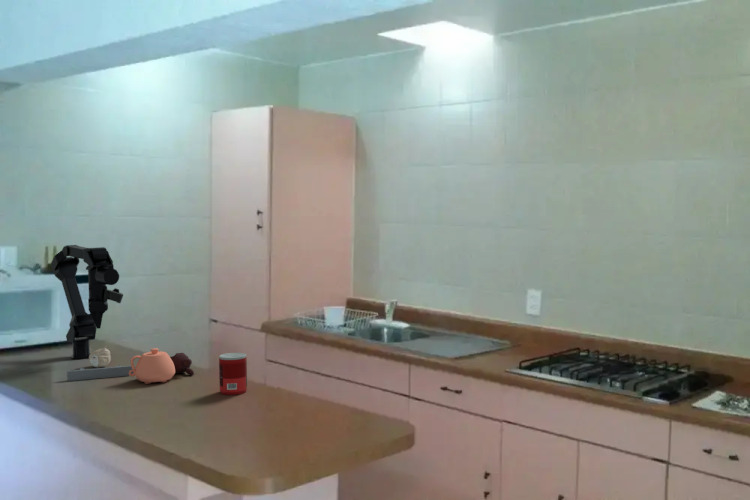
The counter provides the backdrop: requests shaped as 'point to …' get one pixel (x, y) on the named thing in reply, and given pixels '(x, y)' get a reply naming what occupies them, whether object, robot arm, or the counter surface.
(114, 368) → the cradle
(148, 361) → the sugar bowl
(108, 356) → the garlic bulb
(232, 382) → the canned food
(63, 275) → the robot arm
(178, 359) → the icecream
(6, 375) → the counter surface
